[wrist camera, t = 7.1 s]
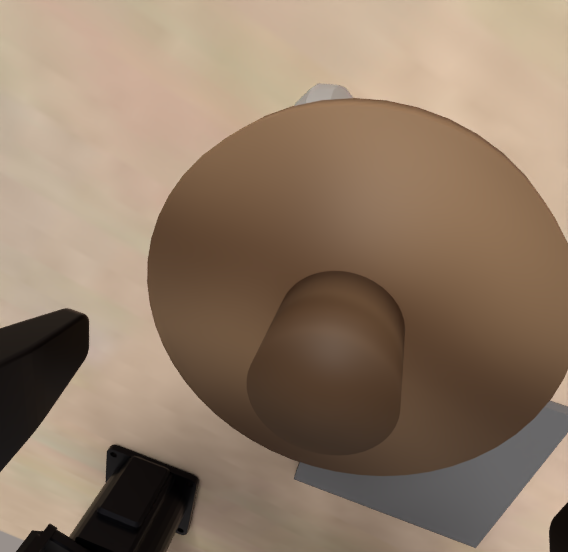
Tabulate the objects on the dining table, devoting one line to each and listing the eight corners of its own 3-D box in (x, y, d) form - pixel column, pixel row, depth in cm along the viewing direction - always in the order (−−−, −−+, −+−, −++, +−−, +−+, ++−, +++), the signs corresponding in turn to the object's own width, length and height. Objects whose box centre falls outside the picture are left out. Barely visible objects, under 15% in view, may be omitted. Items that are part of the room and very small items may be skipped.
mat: (474, 538, 28) (475, 547, 27) (296, 470, 29) (293, 479, 28) (575, 409, 22) (578, 418, 22) (347, 332, 23) (346, 339, 23)
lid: (457, 492, 14) (466, 618, 11) (151, 378, 15) (85, 466, 12) (673, 180, 9) (795, 261, 6) (188, 40, 10) (89, 51, 7)
